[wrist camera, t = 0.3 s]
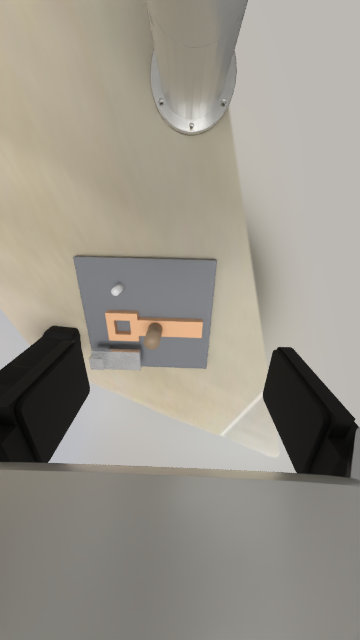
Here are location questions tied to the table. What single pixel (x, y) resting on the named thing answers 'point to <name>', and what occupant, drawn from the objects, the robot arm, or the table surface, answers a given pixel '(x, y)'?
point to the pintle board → (149, 302)
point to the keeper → (115, 358)
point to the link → (151, 328)
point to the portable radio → (35, 355)
